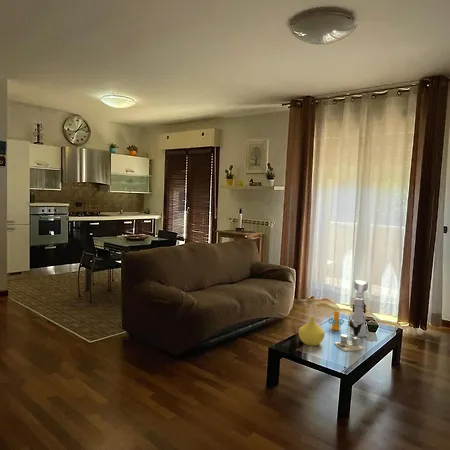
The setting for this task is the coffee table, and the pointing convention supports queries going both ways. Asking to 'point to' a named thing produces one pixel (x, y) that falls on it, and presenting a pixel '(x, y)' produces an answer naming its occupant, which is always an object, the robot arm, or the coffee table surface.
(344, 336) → the block
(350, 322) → the scroll
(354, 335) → the robot arm
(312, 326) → the vase
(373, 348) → the coffee table surface
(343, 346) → the scale
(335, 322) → the orange toy figure
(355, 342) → the block
